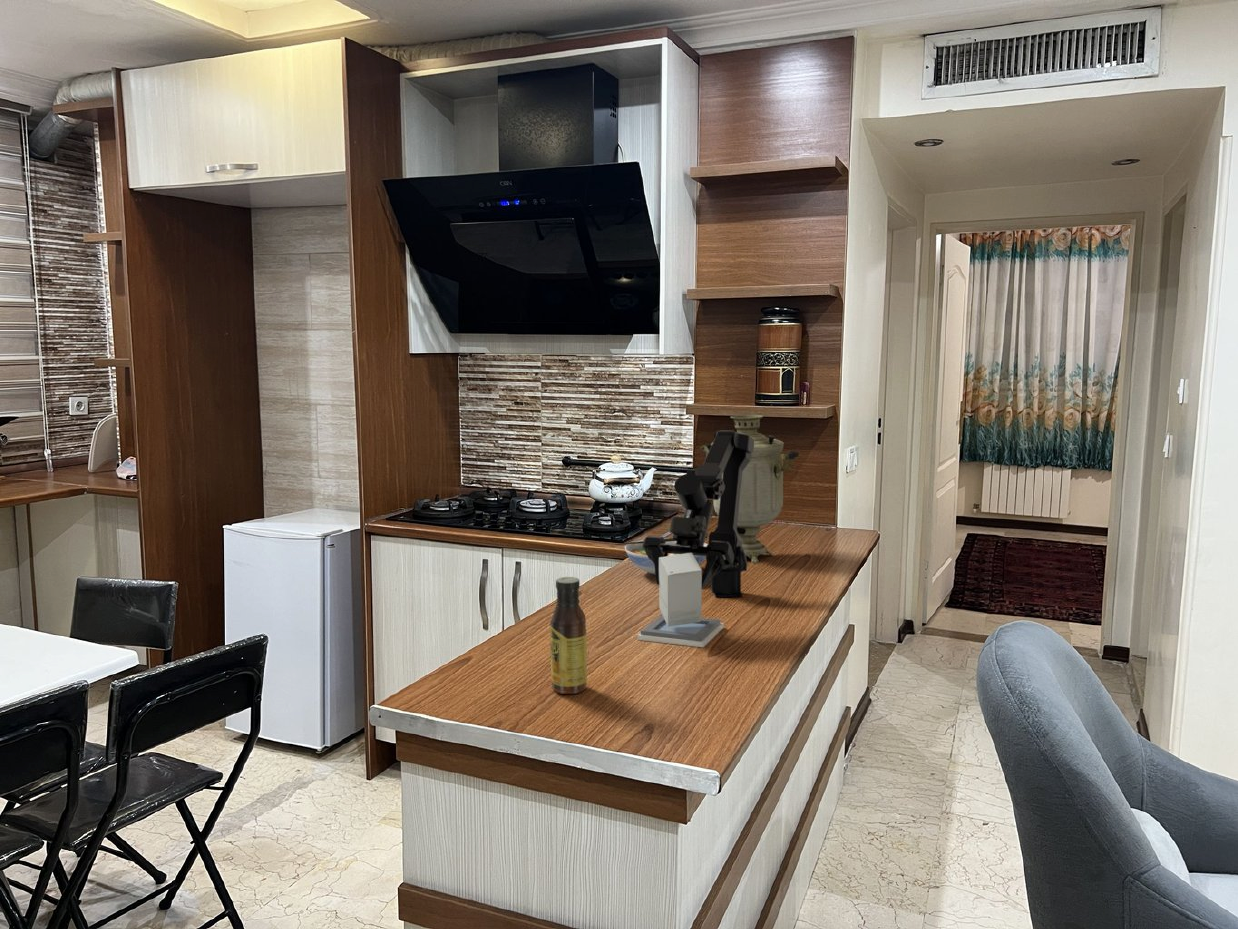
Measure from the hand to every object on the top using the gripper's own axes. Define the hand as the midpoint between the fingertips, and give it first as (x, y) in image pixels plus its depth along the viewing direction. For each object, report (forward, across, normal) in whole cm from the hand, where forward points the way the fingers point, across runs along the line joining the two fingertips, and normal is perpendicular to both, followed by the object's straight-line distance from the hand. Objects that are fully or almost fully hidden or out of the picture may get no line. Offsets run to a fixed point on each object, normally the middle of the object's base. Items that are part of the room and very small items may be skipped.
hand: (679, 585), depth 191 cm
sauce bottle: (+33, -8, -18) cm, 38 cm away
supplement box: (+4, 0, +6) cm, 7 cm away
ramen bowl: (-26, -20, +42) cm, 53 cm away
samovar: (-46, -4, +63) cm, 78 cm away
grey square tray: (+7, 0, +8) cm, 11 cm away
